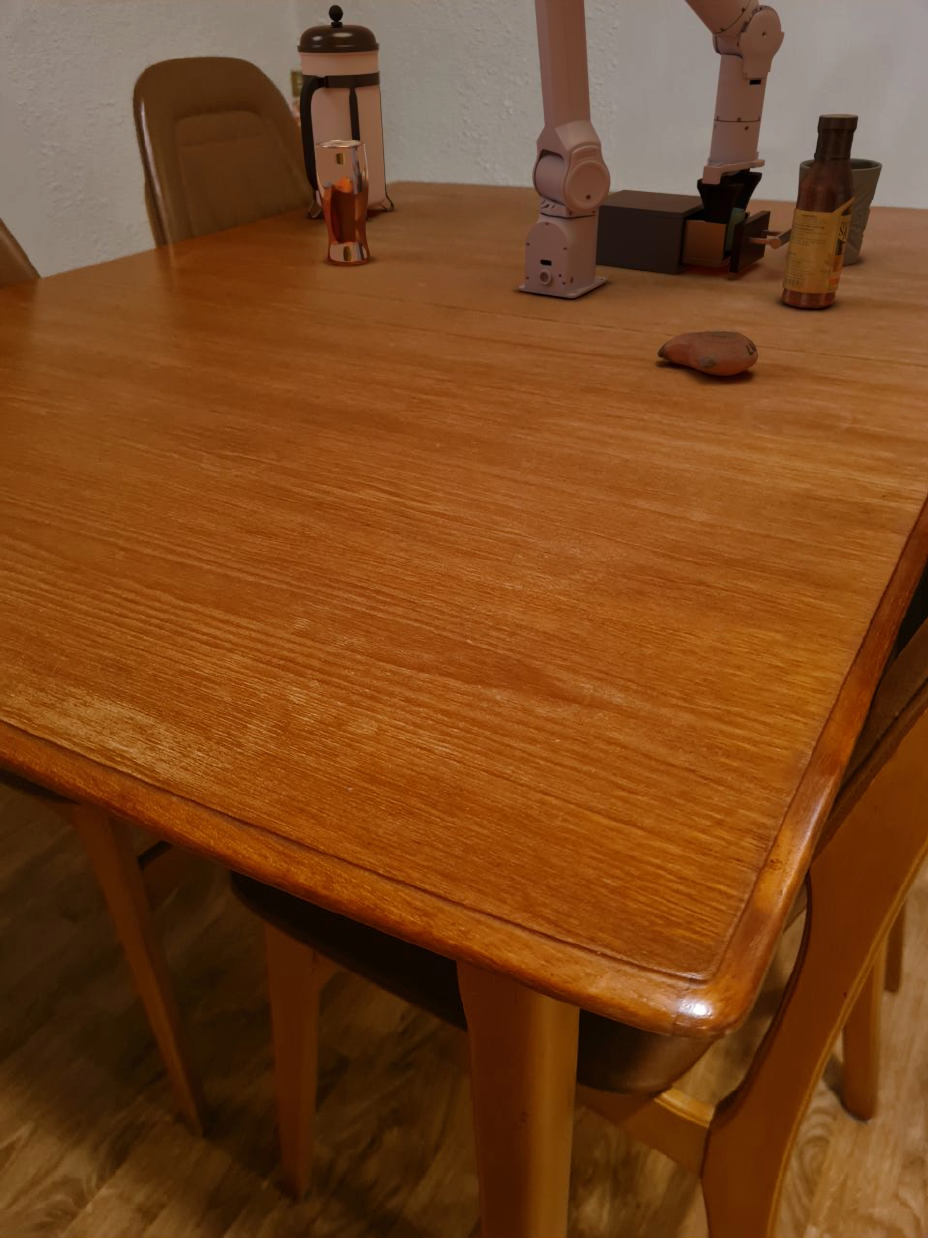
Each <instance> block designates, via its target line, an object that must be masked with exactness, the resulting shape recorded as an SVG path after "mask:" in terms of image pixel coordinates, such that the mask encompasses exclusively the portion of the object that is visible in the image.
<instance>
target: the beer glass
mask: <svg viewBox="0 0 928 1238" xmlns="http://www.w3.org/2000/svg"><path fill="white" fill-rule="evenodd" d="M315 147H316V176H317V185H318V191H319V196H320V201H321V205H322V207H321V208H322V209H323V211H322V213H323V216H324V220H325V224H326V225H325V226H326V228H327V236H328V248H327V263H329V264H330V265H333V266H334V265H335V266H347V267H348V266H358V265H363V264H367V263H369V262H370V261H371V259H372V258H371V252H370V249H369V243H368V239H367V221H366V217H367V215H368V209H367V206H368V192H369V180H368V167H367V159H366V152H365V143H364V142H363V141H359V140H330V141H322V142H318V143H316V144H315Z"/></svg>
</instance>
